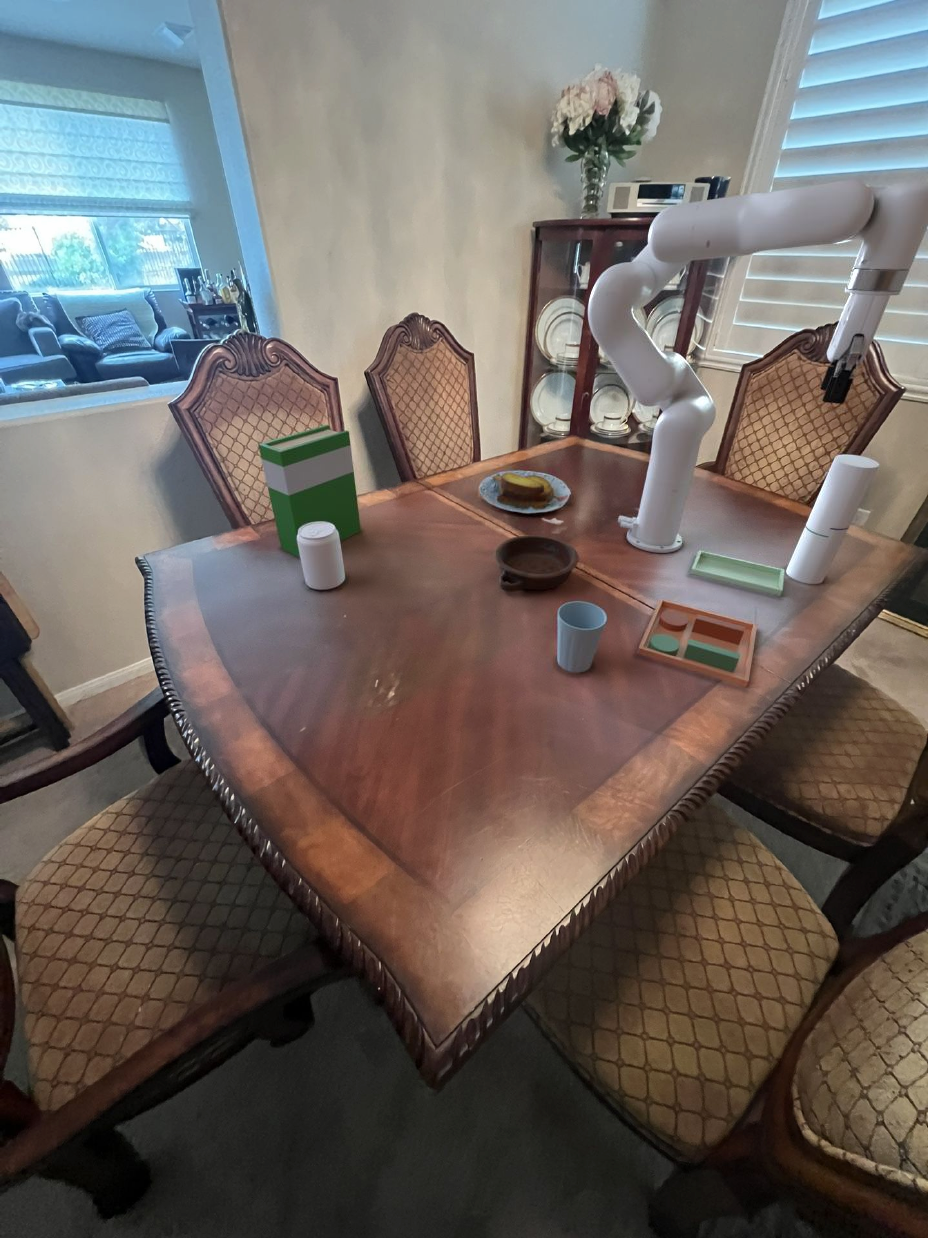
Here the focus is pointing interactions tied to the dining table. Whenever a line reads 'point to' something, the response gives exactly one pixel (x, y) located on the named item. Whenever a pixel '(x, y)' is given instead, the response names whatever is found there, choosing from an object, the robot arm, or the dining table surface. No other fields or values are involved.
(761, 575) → the sage tray
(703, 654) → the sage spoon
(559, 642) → the cup
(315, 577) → the beverage can
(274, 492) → the hardback book
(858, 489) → the cylindrical container
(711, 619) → the terracotta cylinder and block
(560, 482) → the food on plate
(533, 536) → the dish
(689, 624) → the terracotta tray
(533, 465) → the dining table surface
